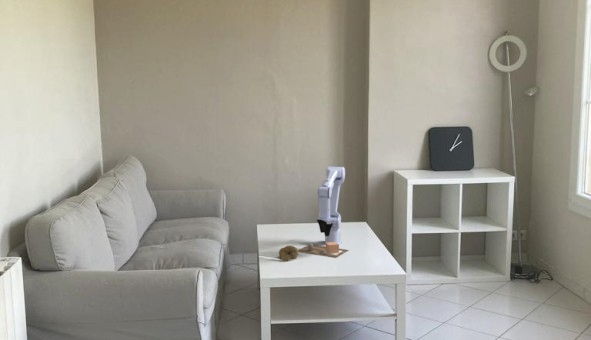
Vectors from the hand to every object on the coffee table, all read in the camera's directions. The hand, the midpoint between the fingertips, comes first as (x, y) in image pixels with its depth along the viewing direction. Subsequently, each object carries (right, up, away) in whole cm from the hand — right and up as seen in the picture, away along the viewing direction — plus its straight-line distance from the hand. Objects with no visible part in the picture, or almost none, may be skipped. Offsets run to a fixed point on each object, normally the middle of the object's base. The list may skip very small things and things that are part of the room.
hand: (324, 234), depth 322 cm
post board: (-1, -10, -1) cm, 10 cm away
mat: (+4, -10, -4) cm, 12 cm away
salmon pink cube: (+4, -9, -4) cm, 11 cm away
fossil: (-19, -12, -13) cm, 26 cm away
